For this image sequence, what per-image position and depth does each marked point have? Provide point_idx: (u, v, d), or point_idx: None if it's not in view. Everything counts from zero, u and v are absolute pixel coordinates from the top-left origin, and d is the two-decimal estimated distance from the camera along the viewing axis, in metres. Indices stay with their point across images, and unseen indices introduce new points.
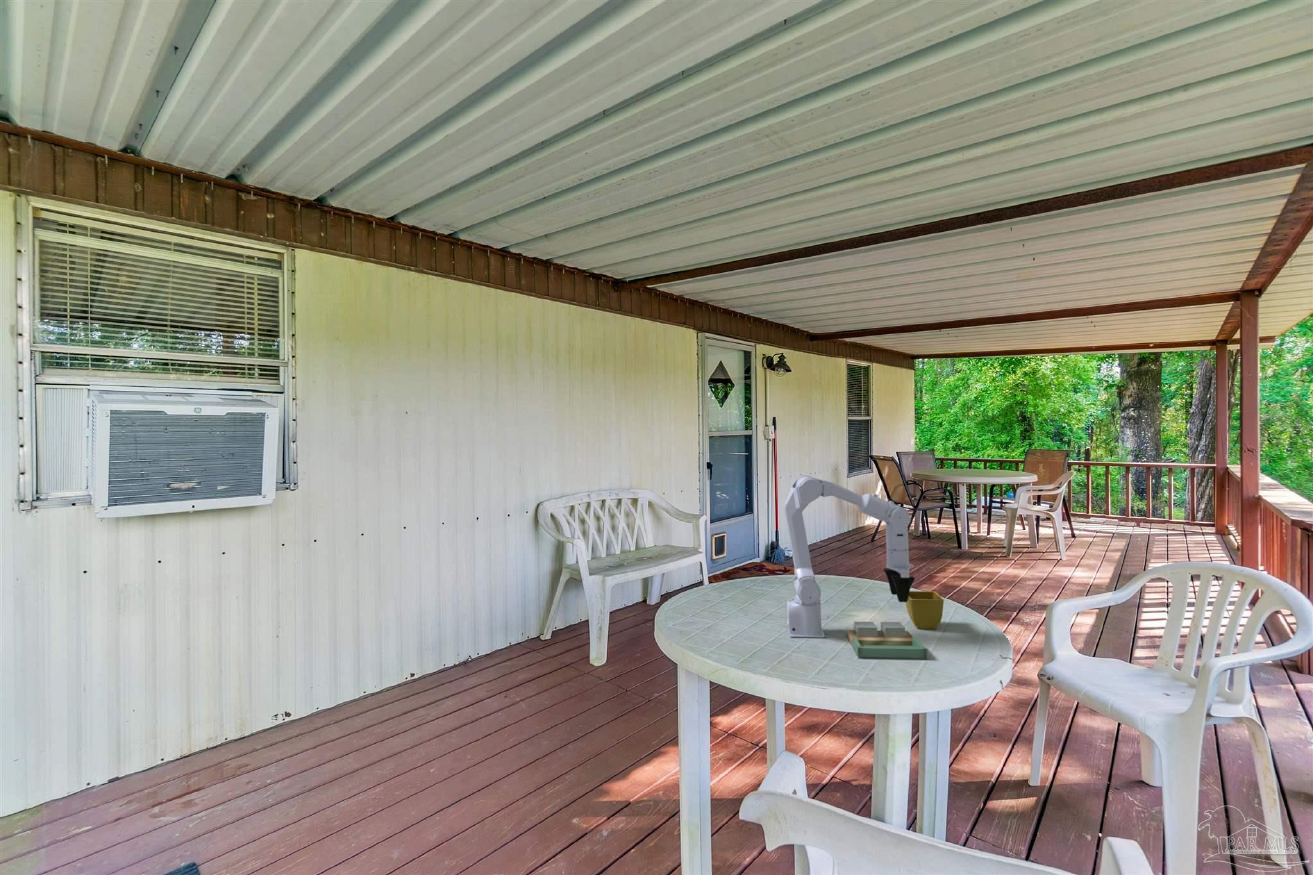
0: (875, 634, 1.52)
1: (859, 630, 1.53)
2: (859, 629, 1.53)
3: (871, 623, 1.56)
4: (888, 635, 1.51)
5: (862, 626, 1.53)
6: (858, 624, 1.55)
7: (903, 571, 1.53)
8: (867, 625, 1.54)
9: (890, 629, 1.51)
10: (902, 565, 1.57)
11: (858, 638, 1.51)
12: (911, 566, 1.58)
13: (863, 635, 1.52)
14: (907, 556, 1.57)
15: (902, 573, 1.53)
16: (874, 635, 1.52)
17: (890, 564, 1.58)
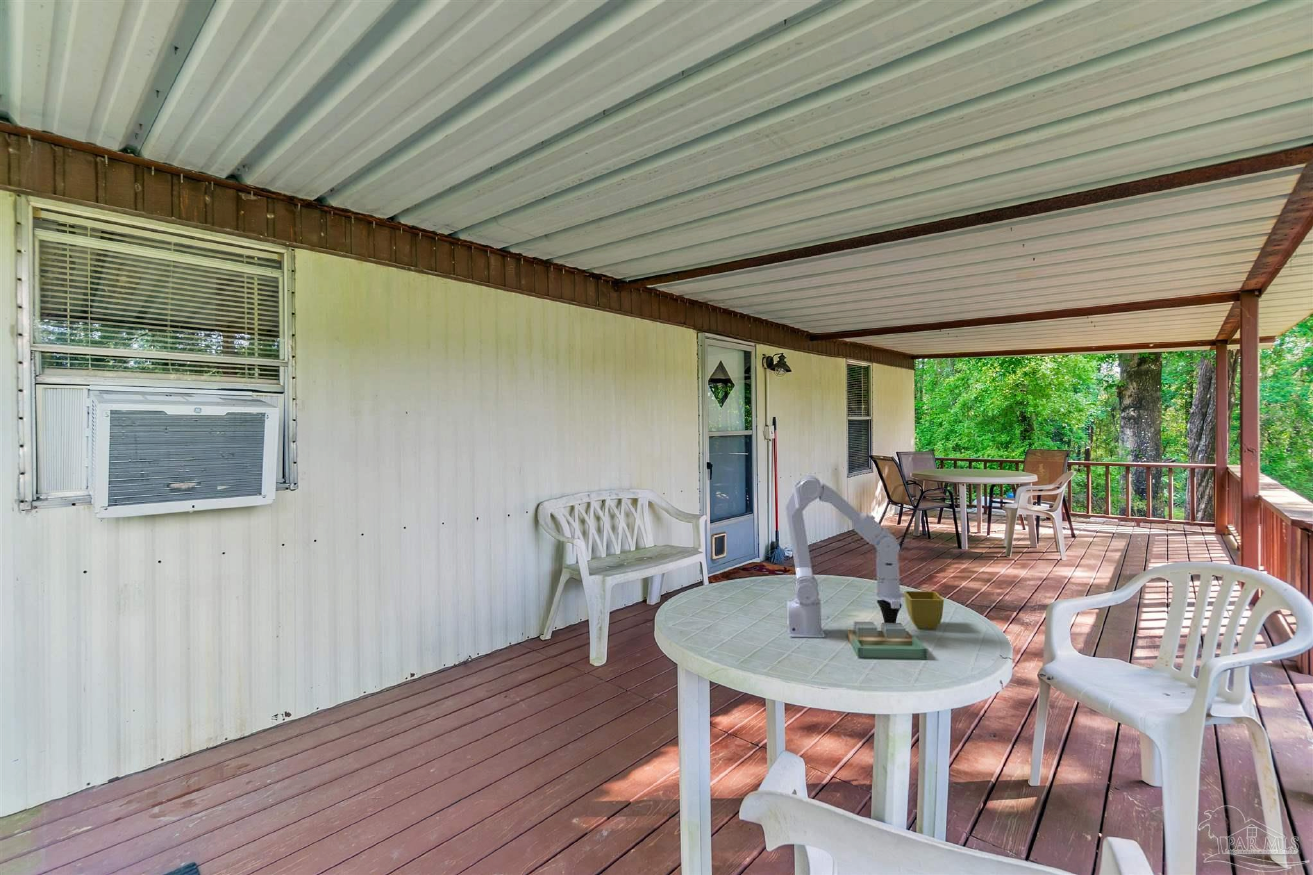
0: (875, 634, 1.52)
1: (859, 630, 1.53)
2: (859, 629, 1.53)
3: (871, 623, 1.56)
4: (889, 636, 1.51)
5: (862, 626, 1.53)
6: (858, 624, 1.55)
7: (894, 602, 1.50)
8: (867, 625, 1.54)
9: (891, 630, 1.51)
10: (893, 595, 1.54)
11: (858, 638, 1.51)
12: (902, 595, 1.55)
13: (863, 635, 1.52)
14: (898, 585, 1.55)
15: (893, 604, 1.50)
16: (874, 635, 1.52)
17: (880, 593, 1.56)
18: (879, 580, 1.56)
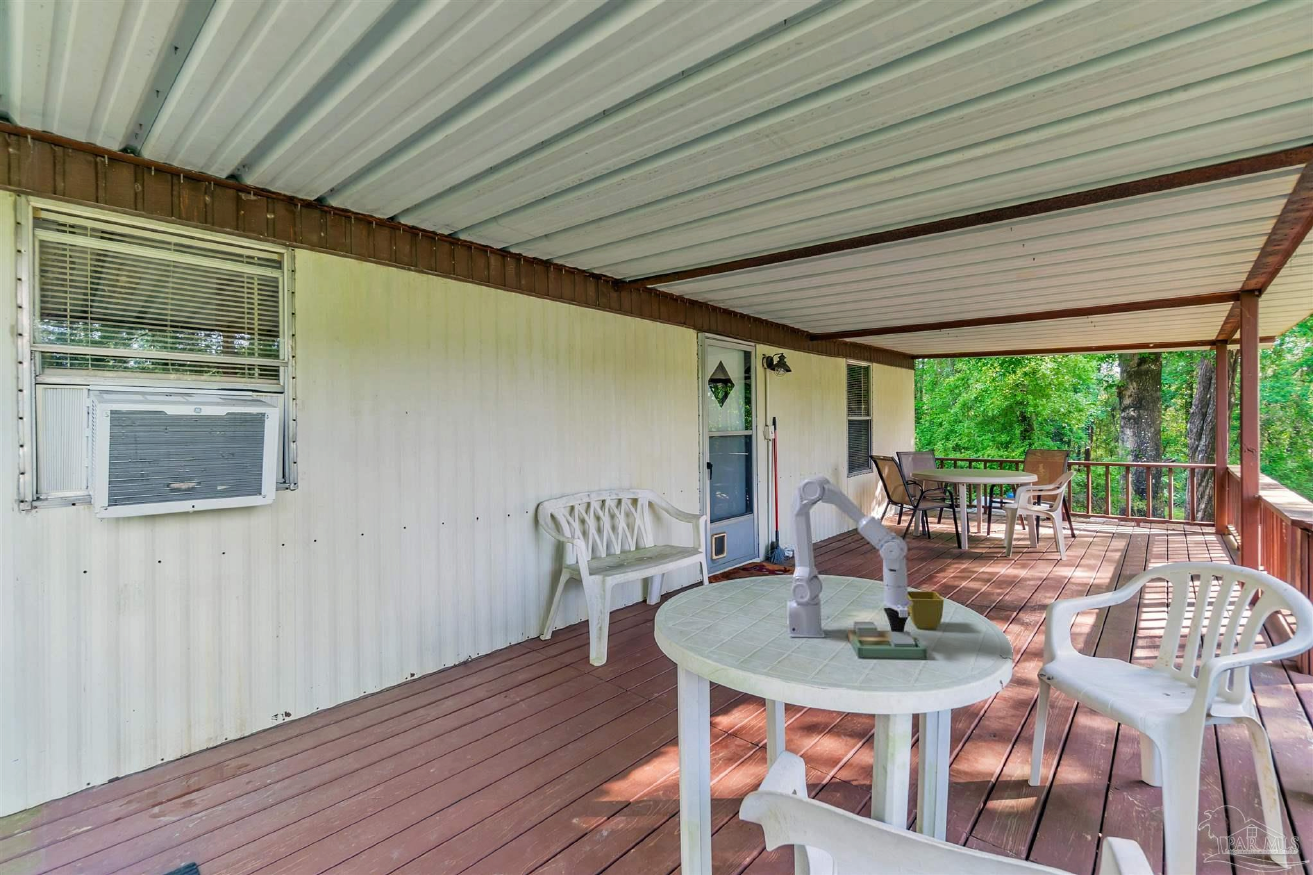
0: (875, 634, 1.52)
1: (859, 630, 1.53)
2: (859, 629, 1.53)
3: (871, 623, 1.56)
4: None
5: (862, 626, 1.53)
6: (858, 624, 1.55)
7: (902, 610, 1.42)
8: (867, 625, 1.54)
9: (899, 645, 1.43)
10: (900, 603, 1.46)
11: (858, 638, 1.51)
12: (910, 603, 1.48)
13: (863, 635, 1.52)
14: (906, 593, 1.47)
15: (901, 612, 1.42)
16: (874, 635, 1.52)
17: (888, 601, 1.48)
18: (886, 587, 1.48)
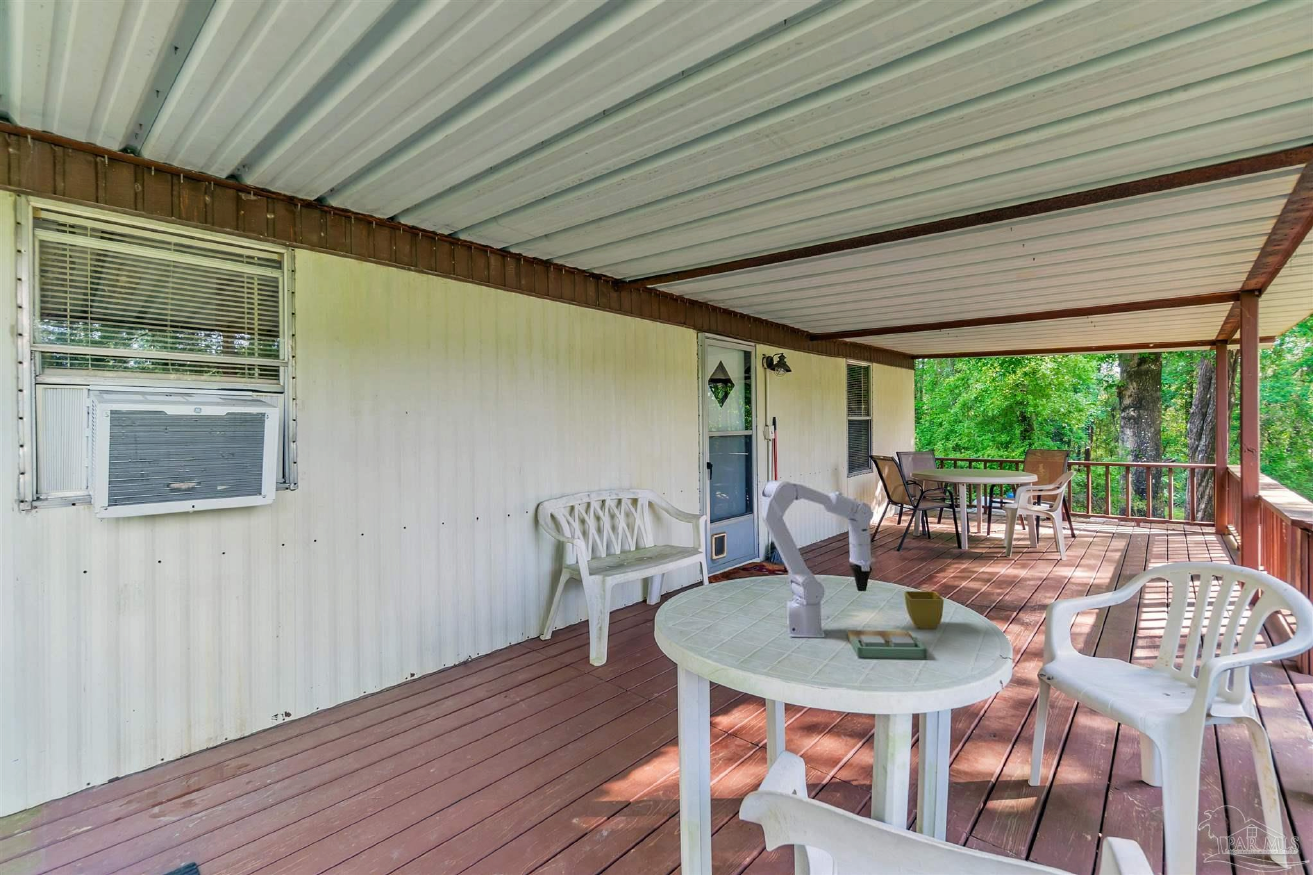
0: None
1: (866, 645, 1.45)
2: (866, 644, 1.45)
3: (879, 637, 1.48)
4: None
5: (869, 641, 1.45)
6: (865, 638, 1.47)
7: (864, 564, 1.59)
8: (875, 639, 1.46)
9: (899, 644, 1.44)
10: (864, 559, 1.63)
11: (858, 638, 1.51)
12: (873, 560, 1.64)
13: None
14: (869, 550, 1.63)
15: (863, 566, 1.59)
16: None
17: (852, 558, 1.64)
18: (851, 545, 1.65)
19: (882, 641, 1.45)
